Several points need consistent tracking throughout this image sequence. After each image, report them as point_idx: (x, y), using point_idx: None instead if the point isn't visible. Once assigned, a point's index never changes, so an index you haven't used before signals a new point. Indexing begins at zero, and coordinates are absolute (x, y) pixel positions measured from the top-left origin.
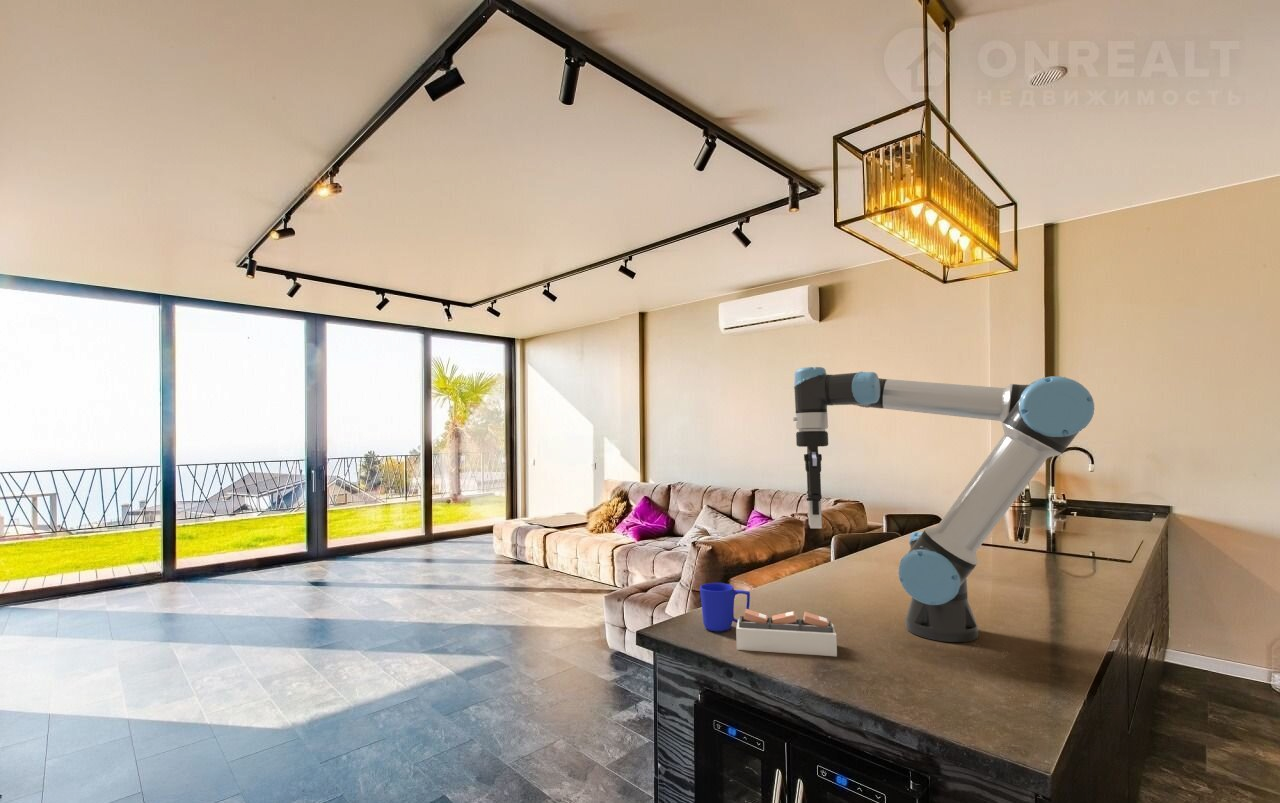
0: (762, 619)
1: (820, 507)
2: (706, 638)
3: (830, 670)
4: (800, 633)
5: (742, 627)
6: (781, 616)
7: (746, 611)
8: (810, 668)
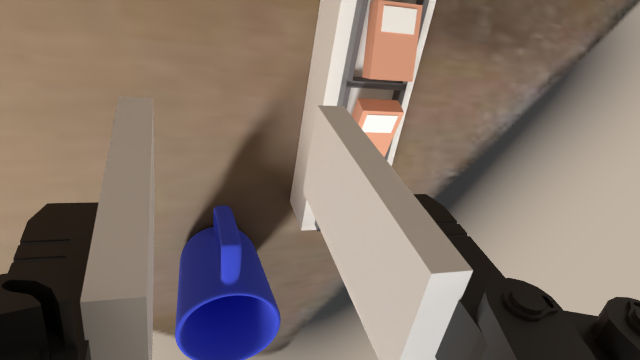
0: None
1: (427, 220)
2: (290, 259)
3: (488, 10)
4: (412, 83)
5: None
6: (377, 142)
7: None
8: (470, 54)
